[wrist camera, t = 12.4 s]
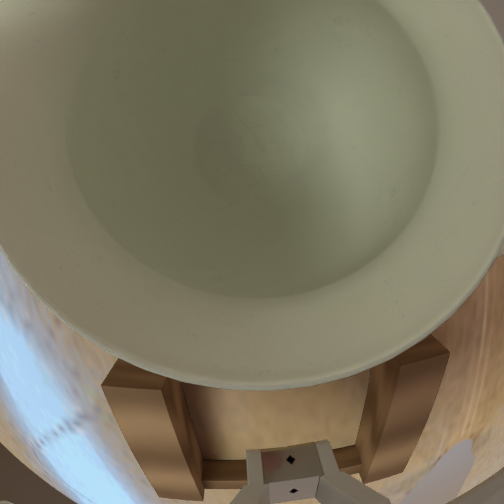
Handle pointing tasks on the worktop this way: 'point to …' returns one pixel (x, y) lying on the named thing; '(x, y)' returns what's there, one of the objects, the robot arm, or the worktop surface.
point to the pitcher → (251, 177)
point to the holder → (235, 471)
